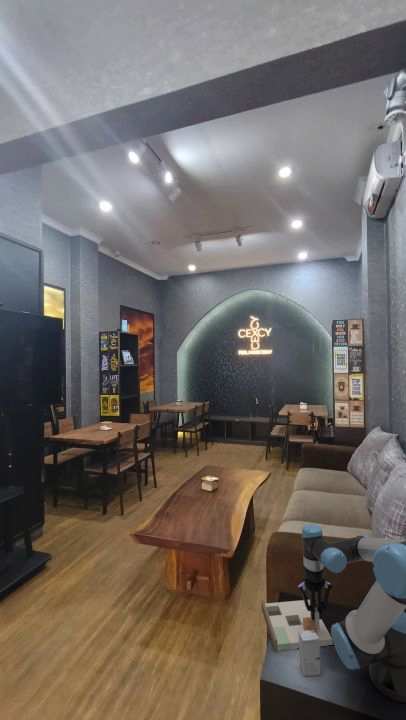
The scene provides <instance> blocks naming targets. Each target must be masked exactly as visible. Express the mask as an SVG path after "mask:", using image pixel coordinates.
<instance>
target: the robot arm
mask: <svg viewBox="0 0 406 720" xmlns="http://www.w3.org/2000/svg"><path fill="white" fill-rule="evenodd" d="M301 534H302V535H301V541H302V556H303V579H302V581H303V582H301V583H298V584H297V586H298V589H299V590H300V593H301V596H302V599H303V600H304V603H305V606H306V608H307V610H308V611H310V612H311V618H312V620H314V621H315V623H316V625H317V630H320V624H319V620H320V619H322V614H323V611H326V610H327V604H328V602H329V601H328V600H329V595H330V591H331V589H332V588H333V587H332V584H331V583H330V581H328V580H327V581H326V579H325V568H326V569H328V571H330V572H332V573H334V574H338V573H339V574H340V573H341V572H342V571H343V570H345V568H346V567H347V564H351V563H354V562H359V561H362V562H369V563H370V562H372V565H373V568H372V571H373V573H374V577H375V579H376V580H375V581H374V583H373V585H372V586H371V588H370V590H369V591H368V593H367V594H366V595H365V597H364V599H363V601H362V602H361V604H360V606H359V607H358V609H352V610H351V611H350V612H348V614H347V615H346V616H345V618H344V620H343V621H340V622H336V623H333V624H332V625H331V628H330V636H331V638H332V643H333V645H334V648H335V651H336V652H337V655H338V656H339V659H340V660H341V662H342V664H343V665H345V667H346V668H347V669H349V670H352V671H353V670H360V669H361V668H364V667H367V666H368V673H369V678H370V681H371V683H372V684H373V685H374V687H375V688H376V690H378V691H379V692H380V693H381V694H382V695H384V696H386V697H387V698H388V699H391V700H393V701H396V702H400V703H406V612H405V611H404V610H406V538H404V539H402V538H401V539H400V538H386V537H385V538H381V537H380V538H379V537H370V536H369V535H365V534H364V535H357V536H355V537H349V538H345V539H342V540H336V541H332V542H330V541H328V540H327V539H326V538H325V537H323V535H324V533H323V530H322V528H321V526H319V525H317V524H313V523H308V524H305V525H303V527H302V529H301ZM324 567H325V568H324ZM306 588H307V589H308V595H307V593H306ZM307 596H309V599H308V597H307ZM308 600H310V605H309V603H308Z"/></svg>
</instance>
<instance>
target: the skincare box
mask: <svg viewBox="0 0 406 720" xmlns="http://www.w3.org/2000/svg"><path fill="white" fill-rule="evenodd" d="M298 650H299V651H298V654H299V668H300V669H301V672H302V674H303V676H304V677H312V676H313V677H314V676H320V675H321V657H320V650H321V649H320V647H319V638H318V636H317V634H316V632H315V630H312V631H299V649H298Z"/></svg>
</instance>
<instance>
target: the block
mask: <svg viewBox="0 0 406 720" xmlns="http://www.w3.org/2000/svg"><path fill="white" fill-rule="evenodd" d="M303 628H304V631H312V630H315V632H316V634H317V625H316V623H315V621H314V620H312V618H311V617H306V618H303Z"/></svg>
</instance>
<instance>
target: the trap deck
mask: <svg viewBox="0 0 406 720" xmlns="http://www.w3.org/2000/svg"><path fill="white" fill-rule="evenodd" d="M260 601H261V612H262V615H263V617H264V620H265V624H266V627H267V631H268V634H269V635H270V634H271V637H270V639H271V638H272V640H271V643H272V642H273V643H272V645H274V646H273V649H274V652H281V650H285V651H290V650H289V649H295V648H299V631H304V628H303V618H306V617H311V612H310V611H308V610H307V608H306V606H305V603H304V600H292V601H291V600H290V601H280V602H268V603H265V601H264V599H263V600H262V599H261V600H260ZM308 603H309V605H310V599H308ZM319 624H320V630H317V636H318V638H319V646H321V645H334V643H333V639H332V635H331V633H330V632H329V631H328V629H327V627H326V625H325V623H324V622H323V619H322V618H321V619H320V620H319ZM295 650H296V649H295Z"/></svg>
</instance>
